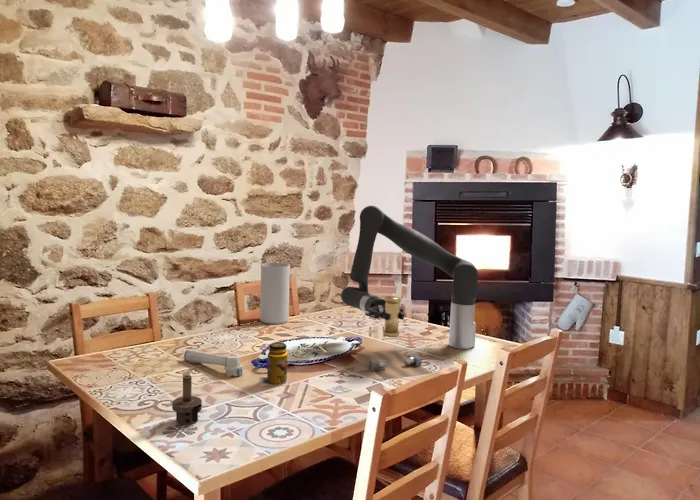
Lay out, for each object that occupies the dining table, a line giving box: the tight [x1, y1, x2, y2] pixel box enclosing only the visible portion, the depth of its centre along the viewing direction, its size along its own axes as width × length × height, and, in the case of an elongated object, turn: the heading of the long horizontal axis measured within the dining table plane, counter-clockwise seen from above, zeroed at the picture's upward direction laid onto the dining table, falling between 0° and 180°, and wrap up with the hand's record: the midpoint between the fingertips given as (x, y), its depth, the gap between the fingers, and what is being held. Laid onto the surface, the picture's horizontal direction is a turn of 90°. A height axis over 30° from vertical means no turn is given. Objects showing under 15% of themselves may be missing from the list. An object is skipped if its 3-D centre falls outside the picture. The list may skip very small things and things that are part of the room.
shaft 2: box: [404, 354, 423, 367], centre depth 192 cm, size 5×4×3 cm
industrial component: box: [171, 374, 203, 426], centre depth 142 cm, size 9×7×12 cm
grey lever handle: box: [183, 348, 244, 377], centre depth 184 cm, size 5×7×25 cm
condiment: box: [259, 341, 290, 387], centre depth 173 cm, size 7×8×12 cm
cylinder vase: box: [259, 262, 291, 325], centre depth 246 cm, size 12×12×25 cm
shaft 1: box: [368, 359, 387, 373], centre depth 187 cm, size 5×4×3 cm
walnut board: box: [350, 350, 433, 380], centre depth 193 cm, size 18×26×1 cm
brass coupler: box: [382, 295, 402, 338], centre depth 191 cm, size 5×5×13 cm
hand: (395, 317), depth 189 cm, fingers closed on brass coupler, 4 cm apart
